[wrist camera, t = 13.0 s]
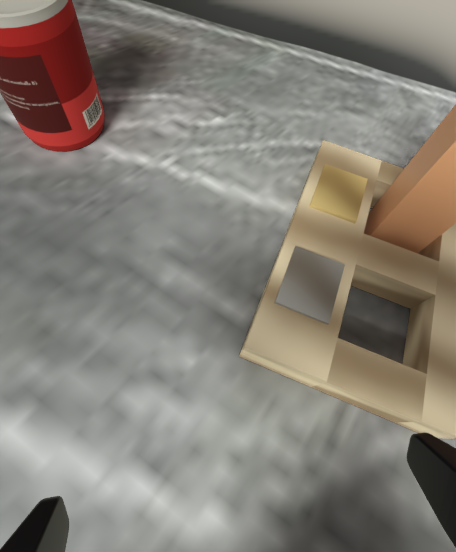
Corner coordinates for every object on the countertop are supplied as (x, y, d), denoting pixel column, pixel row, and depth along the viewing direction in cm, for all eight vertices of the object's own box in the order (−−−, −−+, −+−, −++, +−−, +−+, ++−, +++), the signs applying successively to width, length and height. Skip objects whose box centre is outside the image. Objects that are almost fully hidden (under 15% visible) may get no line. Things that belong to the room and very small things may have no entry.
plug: (404, 263, 27) (557, 143, 16) (360, 246, 28) (477, 116, 16) (410, 228, 29) (552, 96, 17) (368, 213, 30) (480, 73, 18)
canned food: (95, 91, 33) (52, -50, 24) (117, 142, 31) (78, 7, 21) (17, 106, 32) (-65, -41, 22) (33, 163, 29) (-54, 24, 19)
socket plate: (429, 437, 22) (466, 439, 19) (238, 356, 23) (244, 345, 20) (451, 214, 30) (478, 191, 27) (312, 164, 32) (324, 137, 29)
